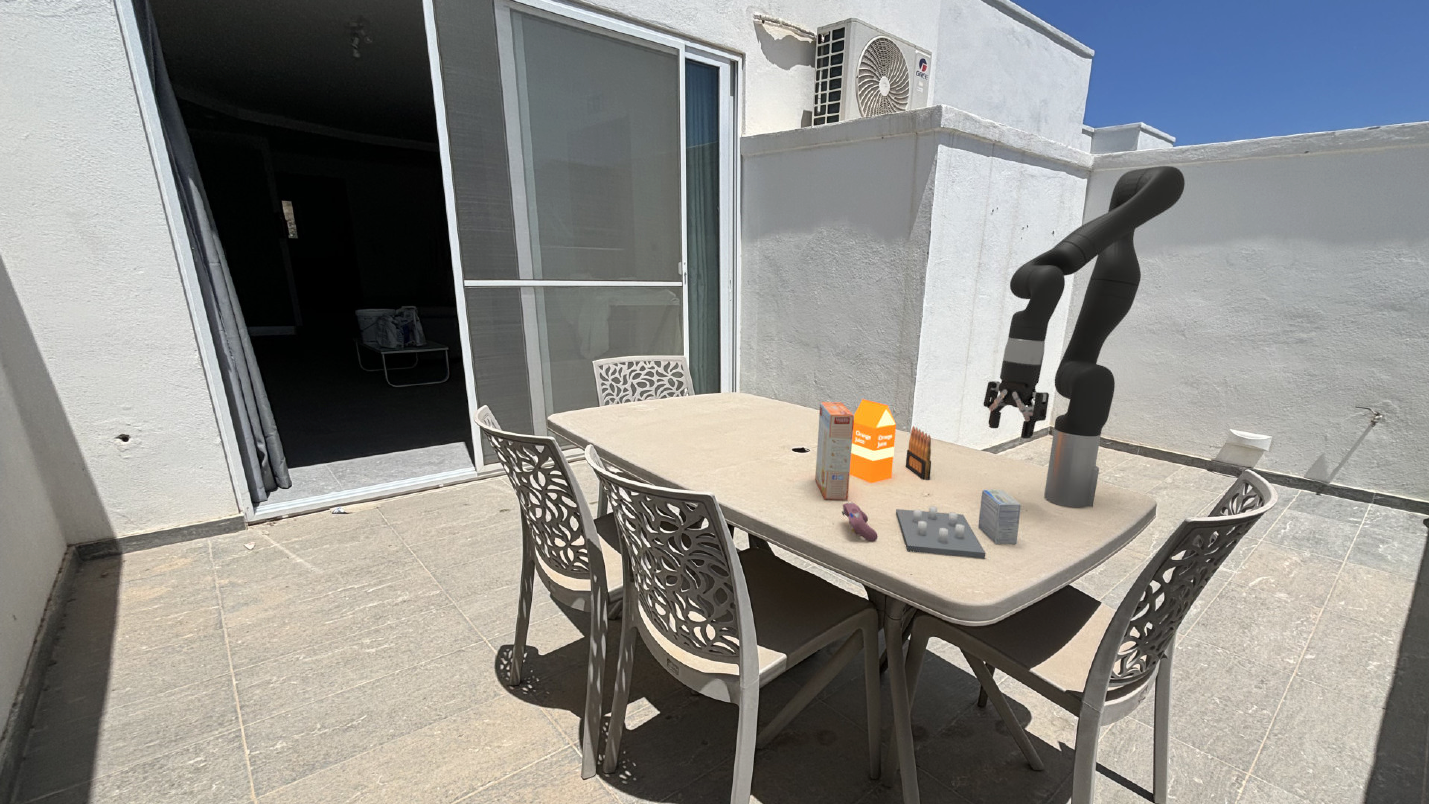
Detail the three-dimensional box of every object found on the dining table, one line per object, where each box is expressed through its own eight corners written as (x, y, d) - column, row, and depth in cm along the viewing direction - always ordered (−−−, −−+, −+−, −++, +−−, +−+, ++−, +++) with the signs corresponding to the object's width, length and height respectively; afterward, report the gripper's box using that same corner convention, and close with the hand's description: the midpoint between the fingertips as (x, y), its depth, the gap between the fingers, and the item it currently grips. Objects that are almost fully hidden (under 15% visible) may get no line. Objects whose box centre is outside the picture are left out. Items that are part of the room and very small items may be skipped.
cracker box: (849, 501, 134) (855, 414, 130) (823, 500, 134) (828, 414, 130) (837, 480, 148) (843, 401, 143) (814, 479, 148) (818, 400, 143)
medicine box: (1016, 545, 113) (1022, 504, 111) (994, 544, 113) (999, 503, 111) (998, 528, 121) (1003, 489, 119) (977, 527, 121) (981, 489, 119)
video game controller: (848, 528, 123) (836, 500, 122) (868, 519, 123) (855, 492, 121) (858, 549, 114) (844, 519, 112) (880, 540, 113) (866, 510, 112)
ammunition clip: (905, 466, 159) (908, 425, 157) (911, 466, 160) (915, 425, 157) (923, 480, 149) (927, 435, 146) (930, 479, 149) (934, 435, 147)
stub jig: (962, 519, 125) (964, 504, 124) (984, 558, 107) (987, 541, 107) (895, 514, 127) (897, 498, 126) (907, 551, 110) (908, 533, 109)
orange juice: (871, 483, 146) (877, 407, 142) (846, 473, 153) (851, 400, 149) (892, 478, 150) (898, 403, 146) (866, 468, 158) (872, 397, 153)
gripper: (1065, 365, 118) (1049, 441, 121) (1008, 355, 131) (995, 424, 134) (1038, 365, 115) (1024, 442, 119) (983, 355, 128) (971, 425, 132)
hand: (1009, 432), depth 127 cm, fingers open, 8 cm apart
